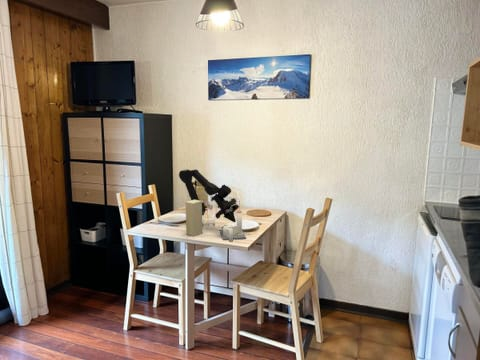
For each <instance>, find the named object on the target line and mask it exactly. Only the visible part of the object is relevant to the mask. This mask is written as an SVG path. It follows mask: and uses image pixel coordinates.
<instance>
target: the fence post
mask: <svg viewBox="0 0 480 360" xmlns="http://www.w3.org/2000/svg"><path fill="white" fill-rule="evenodd" d="M229 228H232V229H233V234H237V233H238V234H240V233H242V231H243V212H242V210H241V209H237V210H236V225H233V226H232V225H231V226H230V225H229Z"/></svg>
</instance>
